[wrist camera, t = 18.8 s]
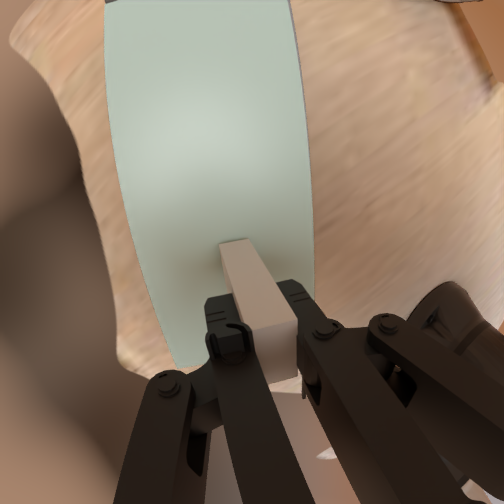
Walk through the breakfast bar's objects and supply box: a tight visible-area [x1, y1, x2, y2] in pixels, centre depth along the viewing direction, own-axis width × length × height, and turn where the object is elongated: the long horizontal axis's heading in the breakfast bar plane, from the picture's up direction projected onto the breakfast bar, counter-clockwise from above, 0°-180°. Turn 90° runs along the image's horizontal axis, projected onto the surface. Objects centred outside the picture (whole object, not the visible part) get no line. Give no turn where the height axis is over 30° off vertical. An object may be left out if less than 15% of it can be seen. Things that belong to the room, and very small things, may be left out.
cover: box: [104, 0, 315, 369], centre depth 13 cm, size 23×9×1 cm, turn 6°
